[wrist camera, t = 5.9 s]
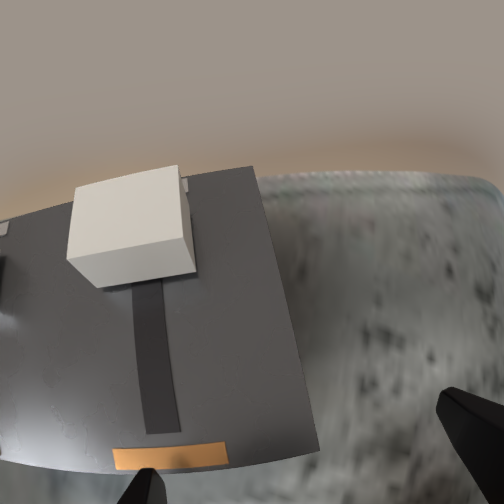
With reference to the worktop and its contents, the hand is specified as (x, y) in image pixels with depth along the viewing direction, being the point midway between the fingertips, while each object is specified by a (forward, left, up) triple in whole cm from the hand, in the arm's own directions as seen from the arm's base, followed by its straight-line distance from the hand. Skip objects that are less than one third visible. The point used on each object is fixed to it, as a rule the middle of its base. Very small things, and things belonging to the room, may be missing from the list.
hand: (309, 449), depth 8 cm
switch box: (+9, +4, -8) cm, 13 cm away
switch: (+9, -1, -1) cm, 9 cm away
